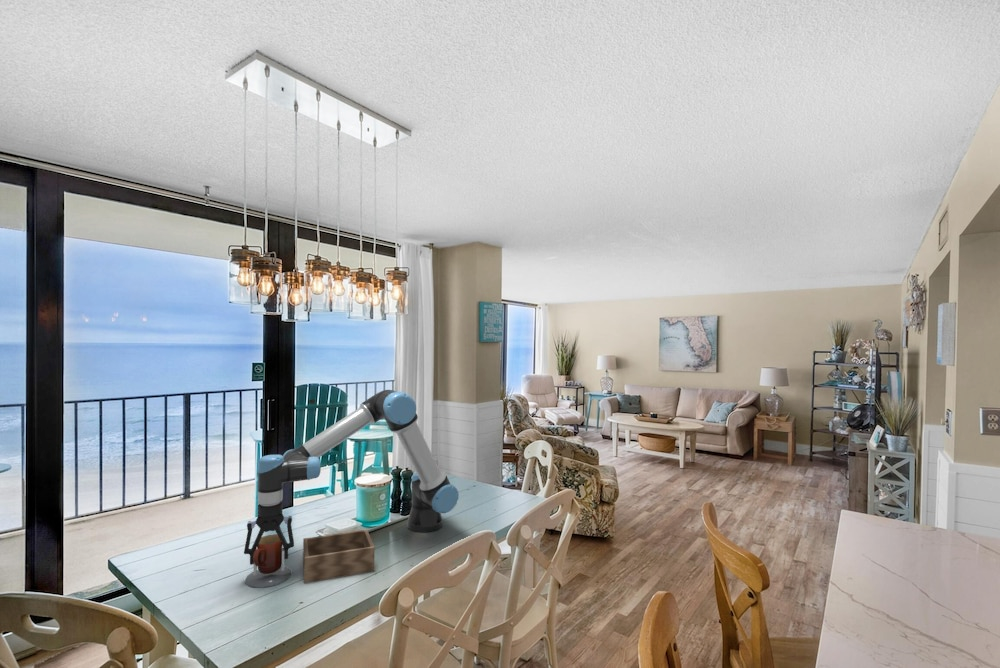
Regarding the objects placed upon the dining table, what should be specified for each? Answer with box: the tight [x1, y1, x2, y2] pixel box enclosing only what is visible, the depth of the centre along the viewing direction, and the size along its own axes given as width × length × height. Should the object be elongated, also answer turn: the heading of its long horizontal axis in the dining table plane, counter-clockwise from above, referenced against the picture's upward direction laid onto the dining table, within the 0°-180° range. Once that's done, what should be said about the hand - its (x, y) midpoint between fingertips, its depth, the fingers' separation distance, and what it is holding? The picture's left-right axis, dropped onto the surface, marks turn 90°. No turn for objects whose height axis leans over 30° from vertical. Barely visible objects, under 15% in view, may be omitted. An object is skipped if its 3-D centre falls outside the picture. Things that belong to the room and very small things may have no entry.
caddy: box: [302, 529, 376, 584], centre depth 170 cm, size 22×17×8 cm
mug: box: [253, 533, 283, 574], centre depth 161 cm, size 12×9×10 cm
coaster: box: [244, 565, 293, 589], centre depth 161 cm, size 14×14×1 cm
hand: (269, 570), depth 161 cm, fingers closed on mug, 8 cm apart
